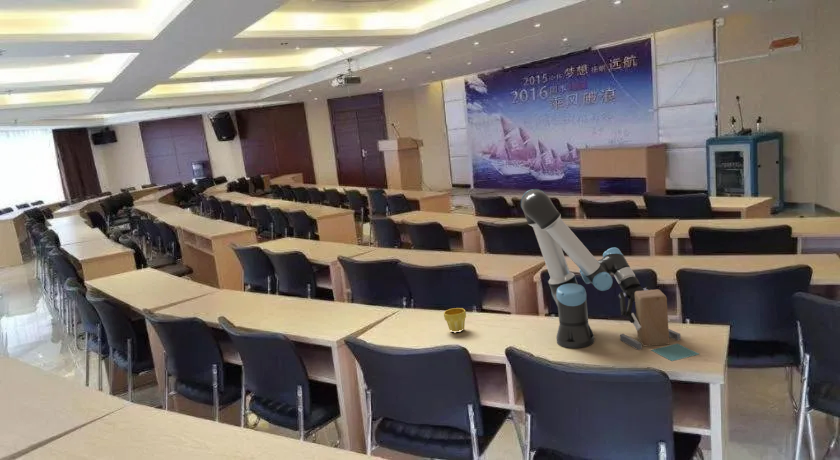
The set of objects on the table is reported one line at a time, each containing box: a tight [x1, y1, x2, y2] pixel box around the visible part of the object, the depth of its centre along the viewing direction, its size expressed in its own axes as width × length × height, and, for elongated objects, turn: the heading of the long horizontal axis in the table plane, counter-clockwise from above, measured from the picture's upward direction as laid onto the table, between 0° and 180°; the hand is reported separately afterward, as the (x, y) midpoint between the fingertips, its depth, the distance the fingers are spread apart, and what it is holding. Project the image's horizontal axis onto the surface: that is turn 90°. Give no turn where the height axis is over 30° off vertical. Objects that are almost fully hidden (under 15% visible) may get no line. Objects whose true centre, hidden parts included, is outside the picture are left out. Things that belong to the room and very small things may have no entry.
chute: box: [619, 328, 682, 351], centre depth 222 cm, size 12×19×2 cm, turn 104°
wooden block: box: [634, 289, 670, 347], centre depth 219 cm, size 10×10×20 cm
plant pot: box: [443, 307, 467, 331], centre depth 261 cm, size 10×10×10 cm
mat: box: [650, 343, 700, 362], centre depth 208 cm, size 12×12×1 cm
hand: (653, 325), depth 219 cm, fingers closed on wooden block, 12 cm apart
